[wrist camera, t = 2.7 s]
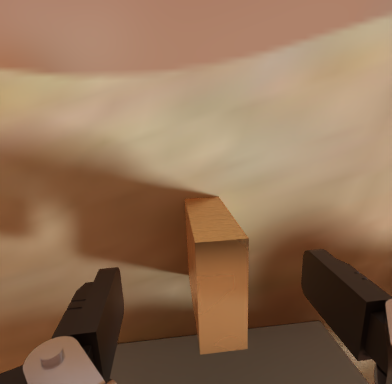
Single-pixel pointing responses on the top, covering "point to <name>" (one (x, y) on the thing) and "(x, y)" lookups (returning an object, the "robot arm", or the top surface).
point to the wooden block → (217, 275)
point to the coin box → (240, 360)
